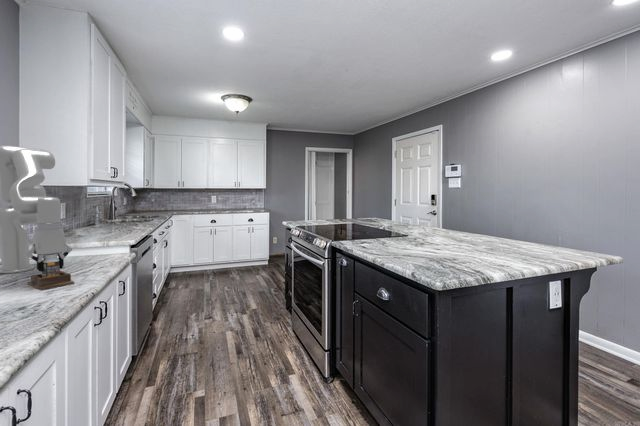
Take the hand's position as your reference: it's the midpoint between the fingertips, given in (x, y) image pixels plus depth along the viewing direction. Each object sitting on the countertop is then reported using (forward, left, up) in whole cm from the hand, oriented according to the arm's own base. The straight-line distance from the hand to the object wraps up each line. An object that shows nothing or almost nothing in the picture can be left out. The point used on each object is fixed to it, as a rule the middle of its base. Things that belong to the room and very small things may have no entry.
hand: (50, 269), depth 130 cm
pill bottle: (0, 0, -4) cm, 4 cm away
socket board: (0, 0, -6) cm, 6 cm away
